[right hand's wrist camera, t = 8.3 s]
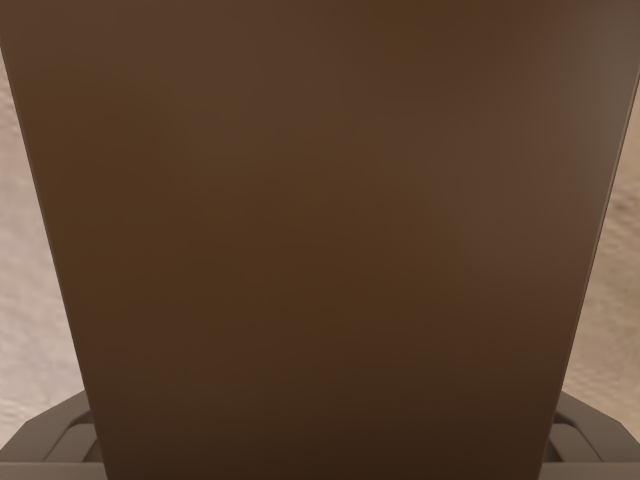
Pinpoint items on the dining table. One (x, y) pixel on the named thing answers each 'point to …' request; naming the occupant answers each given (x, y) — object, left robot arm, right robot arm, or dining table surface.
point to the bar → (322, 223)
